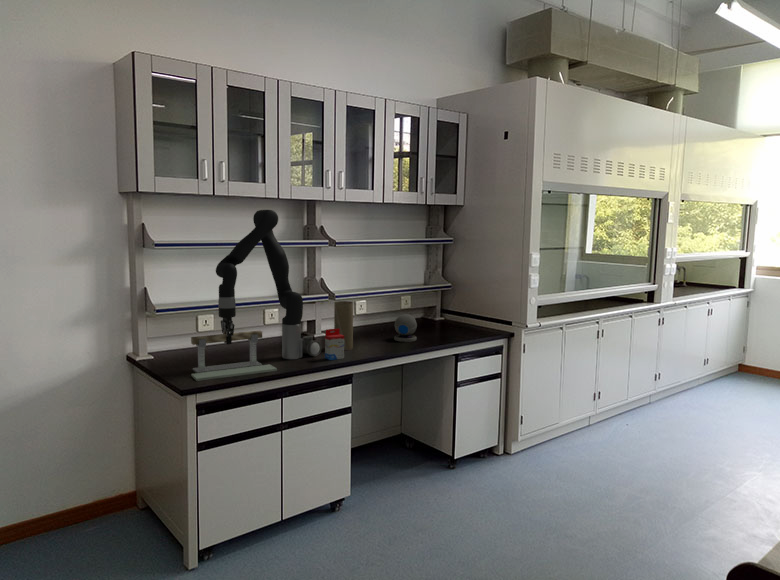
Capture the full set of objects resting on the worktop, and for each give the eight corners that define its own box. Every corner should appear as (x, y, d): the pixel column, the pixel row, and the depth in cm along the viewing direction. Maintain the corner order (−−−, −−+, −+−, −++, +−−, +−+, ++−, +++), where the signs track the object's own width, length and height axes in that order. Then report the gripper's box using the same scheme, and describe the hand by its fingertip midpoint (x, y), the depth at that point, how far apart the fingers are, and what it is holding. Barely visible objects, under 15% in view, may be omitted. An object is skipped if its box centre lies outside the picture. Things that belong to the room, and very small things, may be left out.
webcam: (418, 338, 348) (418, 313, 347) (413, 342, 336) (414, 316, 334) (397, 336, 351) (397, 312, 350) (391, 340, 339) (392, 315, 337)
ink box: (329, 360, 289) (329, 331, 287) (324, 358, 293) (324, 329, 291) (344, 358, 294) (344, 329, 292) (339, 356, 298) (339, 328, 296)
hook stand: (256, 362, 282) (256, 331, 280) (262, 366, 276) (261, 334, 274) (192, 370, 266) (191, 337, 265) (197, 374, 260) (196, 340, 258)
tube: (344, 345, 325) (344, 300, 322) (356, 348, 318) (356, 302, 315) (330, 348, 317) (330, 302, 314) (342, 351, 310) (343, 304, 308)
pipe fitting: (323, 354, 300) (320, 334, 299) (311, 358, 294) (308, 338, 293) (307, 353, 308) (304, 334, 307) (295, 357, 302) (293, 337, 301)
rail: (260, 336, 279) (260, 330, 279) (262, 337, 277) (262, 331, 276) (191, 343, 262) (191, 337, 262) (192, 344, 260) (192, 338, 259)
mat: (269, 366, 275) (269, 364, 275) (276, 370, 268) (276, 368, 268) (191, 376, 256) (191, 373, 256) (196, 381, 249) (196, 378, 249)
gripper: (240, 307, 264) (240, 345, 266) (230, 303, 275) (231, 340, 278) (223, 309, 260) (224, 347, 262) (214, 305, 271) (215, 341, 274)
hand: (227, 343), depth 270 cm, fingers closed on rail, 3 cm apart
